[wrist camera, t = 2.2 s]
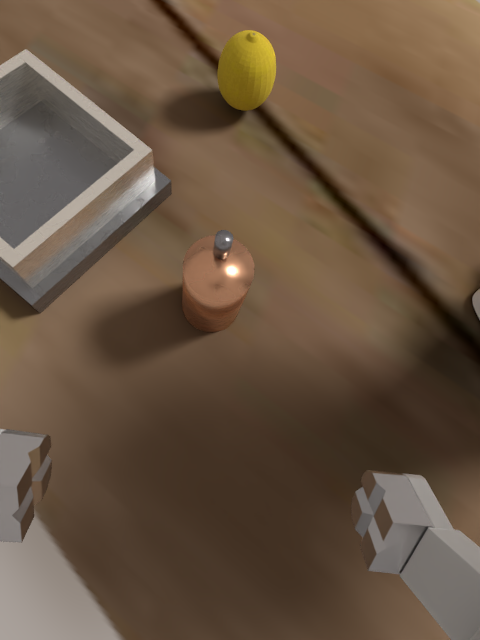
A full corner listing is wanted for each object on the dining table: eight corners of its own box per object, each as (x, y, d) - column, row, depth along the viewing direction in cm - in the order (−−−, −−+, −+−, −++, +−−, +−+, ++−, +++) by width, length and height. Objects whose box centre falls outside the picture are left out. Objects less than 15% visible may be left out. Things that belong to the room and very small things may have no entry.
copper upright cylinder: (235, 335, 35) (256, 295, 26) (178, 327, 35) (177, 283, 25) (241, 283, 37) (263, 227, 27) (186, 274, 36) (189, 214, 27)
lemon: (244, 137, 42) (259, 68, 34) (203, 105, 42) (208, 31, 35) (276, 107, 43) (297, 35, 36) (236, 77, 44) (248, 0, 36)
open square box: (48, 94, 40) (26, 36, 34) (171, 193, 39) (170, 150, 33) (-96, 195, 35) (-150, 146, 29) (40, 313, 33) (11, 286, 28)
